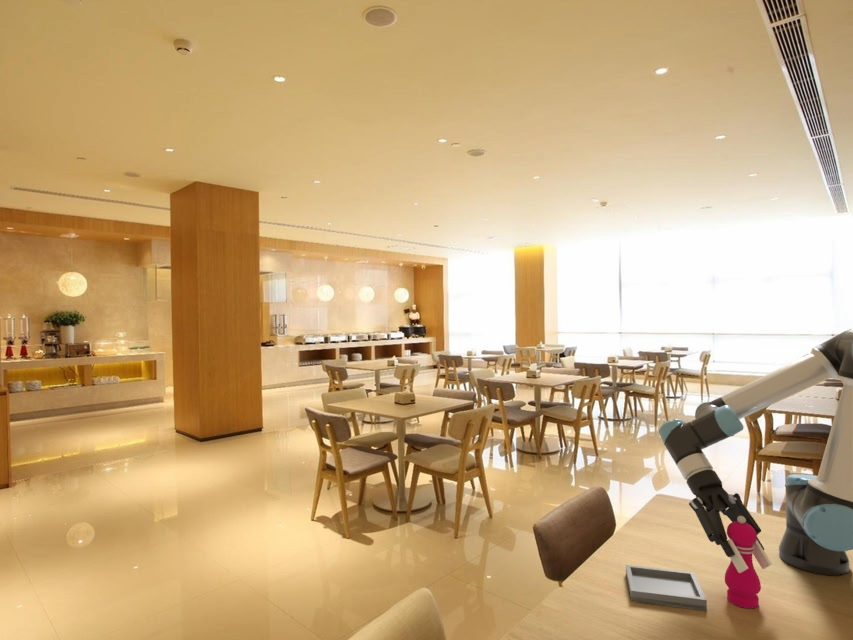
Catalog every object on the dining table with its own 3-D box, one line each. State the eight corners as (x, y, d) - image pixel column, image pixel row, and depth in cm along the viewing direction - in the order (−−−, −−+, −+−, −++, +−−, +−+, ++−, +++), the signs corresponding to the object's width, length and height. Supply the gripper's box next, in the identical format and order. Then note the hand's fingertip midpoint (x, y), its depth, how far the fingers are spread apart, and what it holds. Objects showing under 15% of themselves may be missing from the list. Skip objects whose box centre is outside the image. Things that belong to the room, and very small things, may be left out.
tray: (694, 582, 128) (693, 572, 128) (706, 611, 115) (706, 600, 115) (625, 574, 132) (625, 564, 132) (631, 601, 120) (631, 590, 120)
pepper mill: (766, 611, 114) (765, 523, 114) (731, 608, 116) (730, 521, 116) (753, 594, 122) (751, 511, 122) (720, 591, 123) (718, 509, 123)
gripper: (722, 479, 136) (778, 569, 120) (661, 486, 131) (711, 580, 116) (738, 465, 131) (799, 557, 115) (675, 471, 126) (730, 568, 110)
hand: (755, 568), depth 115 cm, fingers closed on pepper mill, 6 cm apart
